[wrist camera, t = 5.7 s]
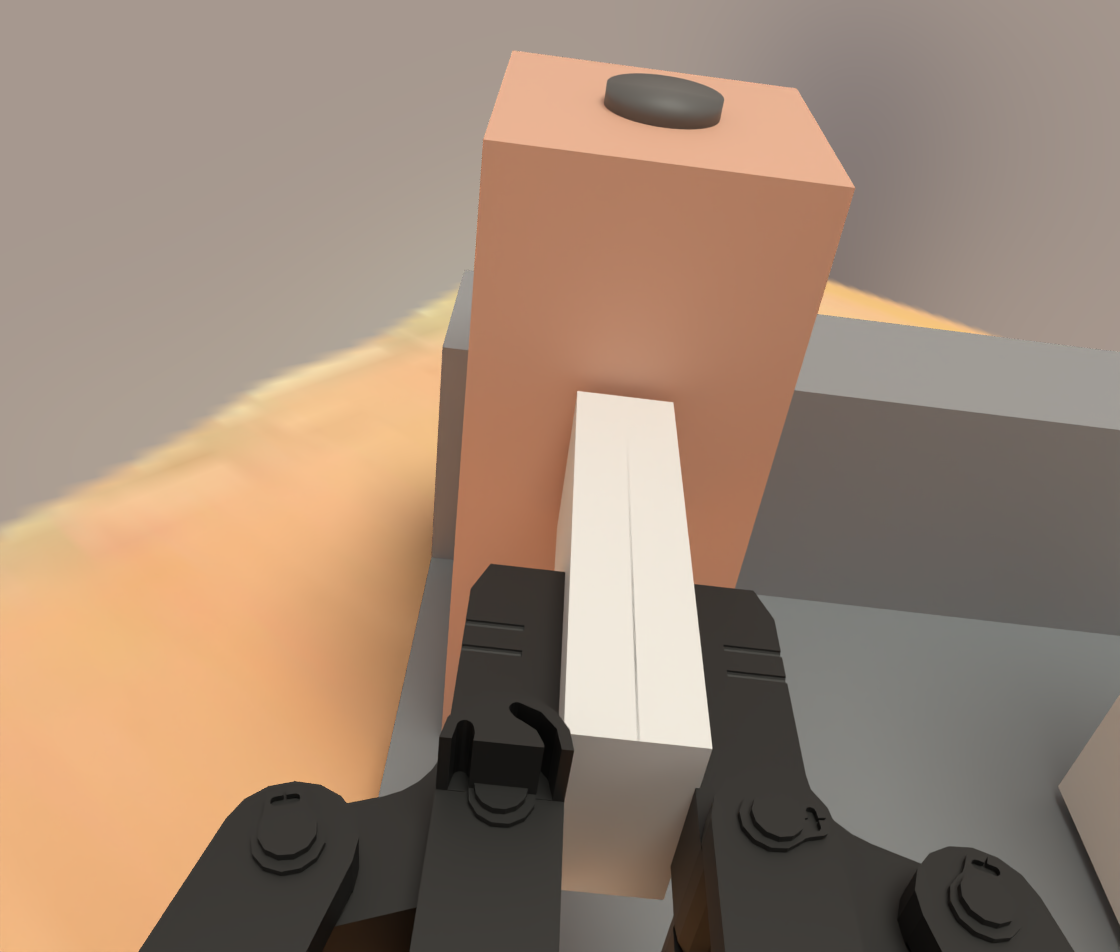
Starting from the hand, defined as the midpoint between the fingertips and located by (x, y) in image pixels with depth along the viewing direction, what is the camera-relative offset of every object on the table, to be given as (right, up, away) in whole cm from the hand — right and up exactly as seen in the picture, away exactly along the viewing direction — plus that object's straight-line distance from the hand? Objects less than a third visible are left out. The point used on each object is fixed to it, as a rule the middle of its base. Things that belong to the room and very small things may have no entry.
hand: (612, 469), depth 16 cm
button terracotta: (-1, -4, +6) cm, 8 cm away
